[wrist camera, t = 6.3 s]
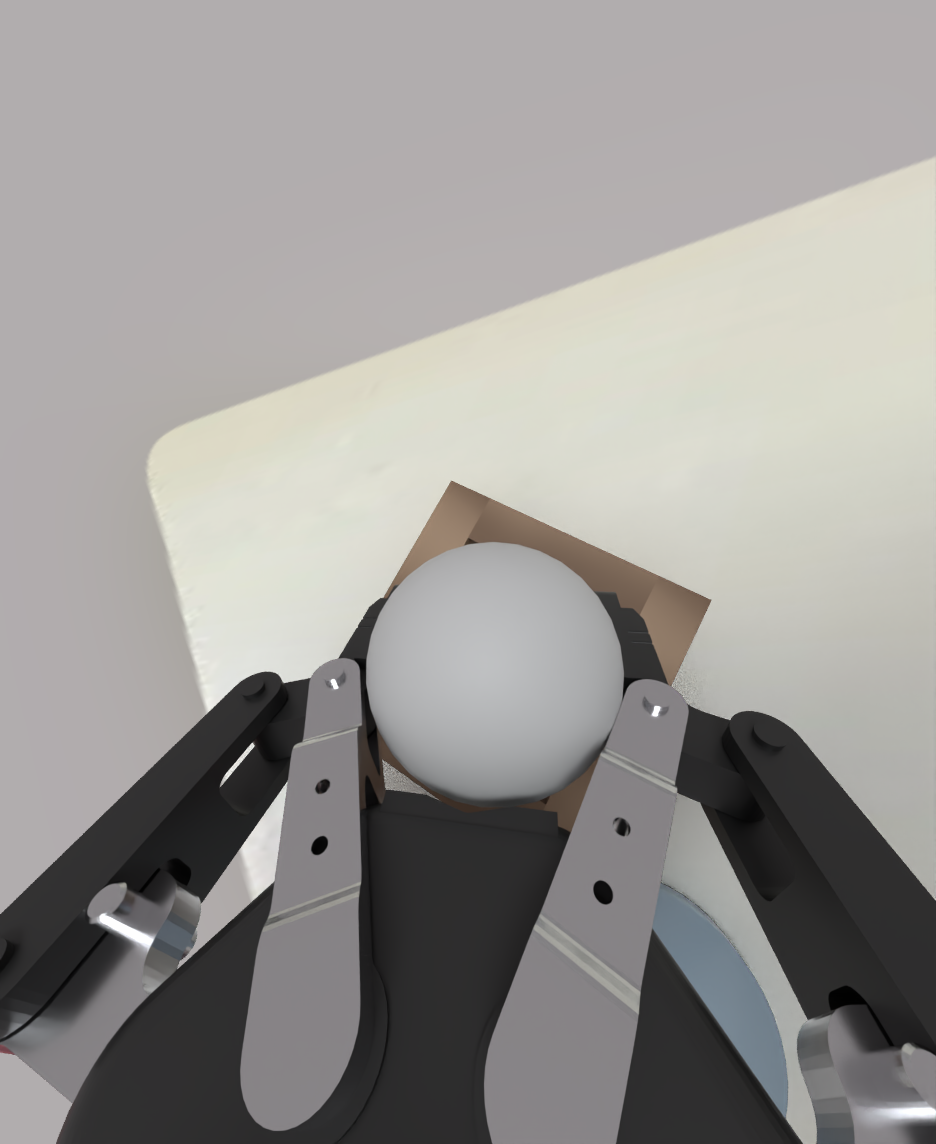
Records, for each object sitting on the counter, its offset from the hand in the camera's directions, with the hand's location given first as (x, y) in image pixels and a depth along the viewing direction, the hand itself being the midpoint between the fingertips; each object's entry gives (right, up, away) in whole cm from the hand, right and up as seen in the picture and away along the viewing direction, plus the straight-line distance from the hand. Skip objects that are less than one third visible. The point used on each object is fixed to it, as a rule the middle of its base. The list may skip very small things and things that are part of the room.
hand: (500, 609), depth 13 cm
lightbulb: (+1, -3, +4) cm, 5 cm away
